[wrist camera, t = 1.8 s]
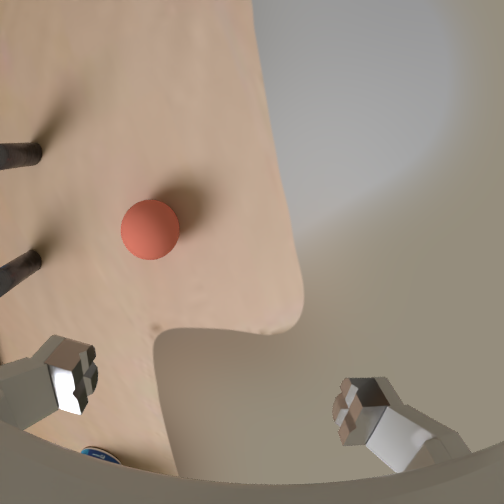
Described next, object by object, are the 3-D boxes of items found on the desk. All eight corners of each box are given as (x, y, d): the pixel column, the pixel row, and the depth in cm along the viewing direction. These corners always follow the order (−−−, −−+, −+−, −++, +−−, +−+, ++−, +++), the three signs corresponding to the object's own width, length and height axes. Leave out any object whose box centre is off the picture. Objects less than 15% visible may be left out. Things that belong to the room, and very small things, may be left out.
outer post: (25, 248, 31) (-21, 275, 22) (40, 251, 31) (-5, 279, 22) (26, 268, 31) (-17, 298, 23) (42, 272, 31) (-1, 303, 23)
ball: (133, 193, 30) (113, 201, 24) (186, 199, 30) (175, 208, 25) (130, 246, 31) (111, 263, 26) (181, 253, 32) (170, 272, 26)
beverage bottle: (73, 443, 41) (38, 527, 22) (110, 446, 41) (80, 541, 22) (95, 469, 44) (70, 549, 25) (132, 472, 43) (111, 560, 24)
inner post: (26, 142, 27) (-26, 145, 18) (43, 142, 27) (-9, 144, 19) (24, 165, 28) (-27, 173, 19) (41, 165, 28) (-11, 173, 19)
